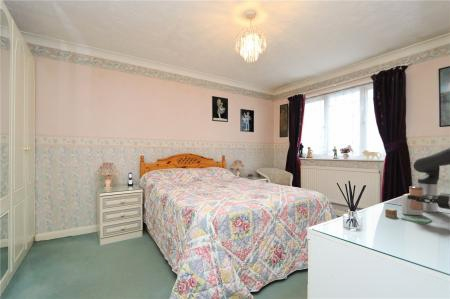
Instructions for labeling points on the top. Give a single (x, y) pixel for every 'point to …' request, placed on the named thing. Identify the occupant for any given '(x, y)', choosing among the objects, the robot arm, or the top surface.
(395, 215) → the letter block
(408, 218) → the green mat
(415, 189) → the canister
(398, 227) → the top surface
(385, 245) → the top surface
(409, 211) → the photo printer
